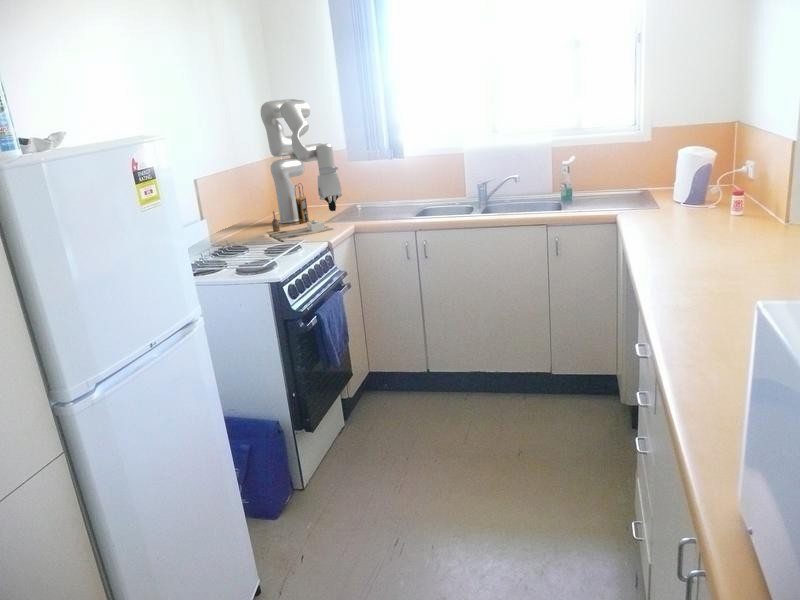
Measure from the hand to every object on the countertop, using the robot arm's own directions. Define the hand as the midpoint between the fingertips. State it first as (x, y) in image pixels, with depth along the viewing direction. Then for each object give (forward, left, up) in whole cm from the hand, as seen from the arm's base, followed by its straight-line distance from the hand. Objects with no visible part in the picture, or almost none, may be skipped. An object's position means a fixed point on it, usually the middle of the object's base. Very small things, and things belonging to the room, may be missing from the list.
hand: (332, 210), depth 310 cm
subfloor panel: (-1, -16, -8) cm, 18 cm away
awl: (-14, -24, -8) cm, 29 cm away
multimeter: (-24, -3, -9) cm, 25 cm away
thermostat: (-1, -9, -7) cm, 12 cm away
